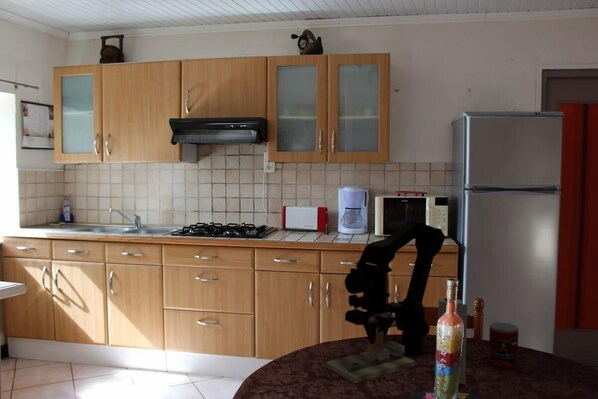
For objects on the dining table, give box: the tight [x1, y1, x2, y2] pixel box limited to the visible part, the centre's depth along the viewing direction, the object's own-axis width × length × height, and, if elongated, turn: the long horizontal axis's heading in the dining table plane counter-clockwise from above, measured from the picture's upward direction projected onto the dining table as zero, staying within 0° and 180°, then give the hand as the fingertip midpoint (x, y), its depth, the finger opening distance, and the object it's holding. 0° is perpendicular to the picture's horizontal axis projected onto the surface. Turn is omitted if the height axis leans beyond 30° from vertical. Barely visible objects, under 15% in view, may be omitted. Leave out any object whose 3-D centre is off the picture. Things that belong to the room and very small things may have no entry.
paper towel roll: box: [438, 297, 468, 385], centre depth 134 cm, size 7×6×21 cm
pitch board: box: [324, 340, 416, 384], centre depth 143 cm, size 22×13×5 cm, turn 124°
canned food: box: [488, 322, 519, 369], centre depth 146 cm, size 8×8×11 cm
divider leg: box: [366, 328, 390, 360], centre depth 143 cm, size 4×5×8 cm
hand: (375, 342), depth 144 cm, fingers closed on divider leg, 3 cm apart
